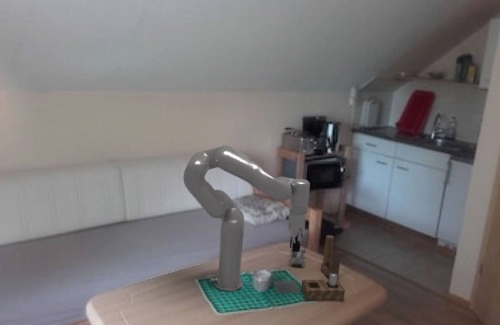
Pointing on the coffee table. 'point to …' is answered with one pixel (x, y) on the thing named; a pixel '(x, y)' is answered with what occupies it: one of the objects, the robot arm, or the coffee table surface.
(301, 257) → the gray elephant figurine
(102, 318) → the coffee table surface
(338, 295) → the hole block
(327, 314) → the coffee table surface
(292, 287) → the mat
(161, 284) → the coffee table surface
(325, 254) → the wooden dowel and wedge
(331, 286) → the seated peg
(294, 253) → the peg
